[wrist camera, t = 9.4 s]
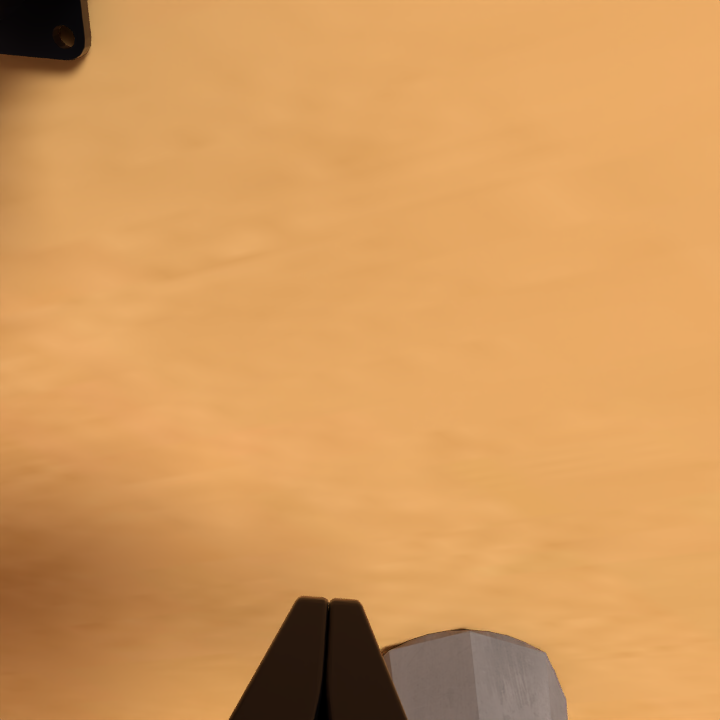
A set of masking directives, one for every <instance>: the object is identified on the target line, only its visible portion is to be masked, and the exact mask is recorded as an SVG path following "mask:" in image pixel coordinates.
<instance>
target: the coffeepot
mask: <svg viewBox="0 0 720 720" xmlns="http://www.w3.org/2000/svg"><path fill="white" fill-rule="evenodd" d="M383 658H384V661H385V663H386V666H387V668H388V671H389V673H390V676H391V678H392V681H393V683H394V686H395V688H396V691H397V693H398V696H399V698H400V701H401V703H402V706H403V708H404V711H405V713H406V716H407V718H408V720H568V717H567V704H566V698H565V695H564V693H563V691H562V689H561V686H560V683H559V681H558V678H557V676H556V673H555V670H554V669H553V667H552V665H551V664H550V661H549V659H548V657H547V655H546V653H545V652H543V651H541V650H539V649H537V648H535V647H533V646H531V645H529V644H527V643H525V642H523V641H520V640H518V639H515V638H512V637H509V636H507V635H502V634H497V633H493V632H488V631H475V630H457V631H445V632H439V633H433V634H428V635H425V636H422V637H418V638H415V639H412V640H409V641H407V642H405V643H403V644H401V645H399V646H397V647H395V648H393V649H391V650H389V651H388V652H387V653H386V654H385V655H384V656H383Z"/></svg>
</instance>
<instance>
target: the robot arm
mask: <svg viewBox="0 0 720 720" xmlns="http://www.w3.org/2000/svg"><path fill="white" fill-rule="evenodd" d="M62 25H64V26H66V27H68V28H69V29H70V30H71V31H72V32H73V35H74V37H75V41H74V45H73V46H72V47H70V46H68V45H66V44H65V43H64V42H63V41H62V40H61V37H60V35H59V32H60V28H61V26H62ZM90 46H91V31H90V22H89V13H88V5H87V0H0V54H7V55H17V56H28V57H38V58H49V59H59V60H73V59H77V58H79V57H81V56H83V55H84V54H86V53H87V52H88V50H89V48H90ZM328 607H329V609H328ZM229 720H408V718H407V716H406V713H405V711H404V708H403V706H402V703H401V701H400V698H399V696H398V693H397V691H396V688H395V686H394V683H393V681H392V678H391V676H390V673H389V671H388V668H387V666H386V663H385V661H384V658H383V656H382V653H381V651H380V648H379V646H378V643H377V641H376V638H375V636H374V633H373V631H372V629H371V626H370V624H369V621H368V619H367V616H366V614H365V611H364V609H363V606H362V605H361V603H360V602H359V601H358V600H352V599H338V598H334V599H332V600H331V601H330V602H328V600H327V599H326V598H324V597H311V596H301V597H299V598H298V599H297V600H296V601H295V603H294V605H293V606H292V608H291V610H290V612H289V613H288V615H287V617H286V619H285V621H284V622H283V624H282V626H281V628H280V629H279V631H278V633H277V635H276V636H275V638H274V640H273V642H272V644H271V645H270V647H269V649H268V651H267V652H266V654H265V656H264V658H263V660H262V661H261V663H260V665H259V667H258V668H257V670H256V672H255V674H254V676H253V677H252V679H251V681H250V683H249V684H248V686H247V688H246V690H245V691H244V693H243V695H242V697H241V699H240V700H239V702H238V704H237V706H236V707H235V709H234V711H233V713H232V715H231V716H230V718H229Z"/></svg>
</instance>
